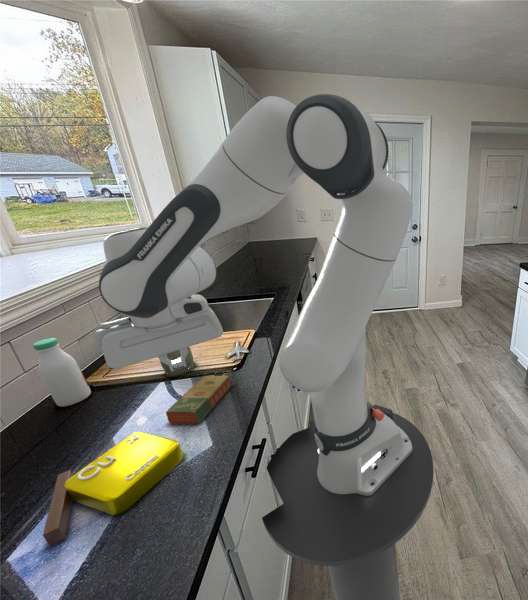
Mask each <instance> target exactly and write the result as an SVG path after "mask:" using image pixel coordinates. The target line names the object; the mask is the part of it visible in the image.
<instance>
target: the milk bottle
mask: <svg viewBox="0 0 528 600" xmlns="http://www.w3.org/2000/svg"><path fill="white" fill-rule="evenodd" d="M32 347H33V349H34V350H35V352H36V353H38V366H37V371H38V373H39V375H40V378H41V379H42V381H43V383H44V385H45V387H46V389H47V391H48V392H49V394H50V396H51V398H52V399H53V401H54V403H55V405H56V406H58V407H68V406H73V405H75V404H77V403H80V402H82V401H84V400H86V399H88V397H89V396H90V395H91V394H92V390H91V387H90V386H89V383H88V382H87V380H86V377H85V376H84V374H83V372H82V370H81V368H80V367H79V364H78V363H77V361H76V360H75V358H73V356H72V355H70V354H69V353H67V352H65V351H64V350H63V349H62V348H60V343H59V341H58V340H57V338H55V337H50V338H49V337H48V338H44V339H40V340H38V341H36V342H35V343H33V345H32Z"/></svg>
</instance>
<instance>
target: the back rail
mask: <svg viewBox="0 0 528 600" xmlns="http://www.w3.org/2000/svg"><path fill="white" fill-rule="evenodd" d="M74 474H75V473H73V471H72V469H68V470H66V471H64V472H61V473H58V474H57V476H56V481H55V484H54V489H53V492H52V497H51V501H50V504H49V508H48V513H47V517H46V521H45V524H44V528H43V533H42V537H43V539H44V540H45V541H46V542H47V544H48V545H49V546H50V547H52V546H54V545H55V544H57V543H60V542H61V541H63V540H66V539H67V533H68V527H69V522H70V516H71V511H72V506H73V502H74V501H73V500H72V498H71V496H70V495H69V493H68V492H67V490H66V488H65V486H64V484H65V483H66V481H67V480H68V479H69V478H70V477H72V476H73V475H74Z"/></svg>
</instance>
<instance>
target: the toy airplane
mask: <svg viewBox="0 0 528 600" xmlns="http://www.w3.org/2000/svg"><path fill="white" fill-rule="evenodd" d="M240 353H250V350H249V349H247V348H245V347H243V346H241V345H240V342H239V340H238V339H236V341H235V346H234V347H233V348H232V349H231V351H230V352H229V353H228V354H227V355H226V359H228V358H230V357H231V356H233V355H236V356H234V358H233V361H237V360H240V359H241V360H243V356H241V355H240ZM237 363H238V364H239V363H240V361H237Z"/></svg>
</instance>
